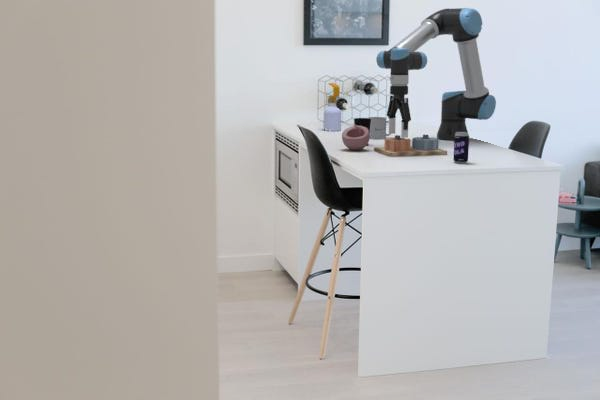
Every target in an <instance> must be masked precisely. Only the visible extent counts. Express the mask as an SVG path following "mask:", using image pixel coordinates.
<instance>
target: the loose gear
mask: <svg viewBox="0 0 600 400" xmlns="http://www.w3.org/2000/svg"><path fill="white" fill-rule="evenodd" d="M411 142H412V141H411V139H410V138H401V137H400V140H395V137H386V138H385V139H384V147H385V149H384V150H389V151H401V152H402V151H410V146H411Z"/></svg>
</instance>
